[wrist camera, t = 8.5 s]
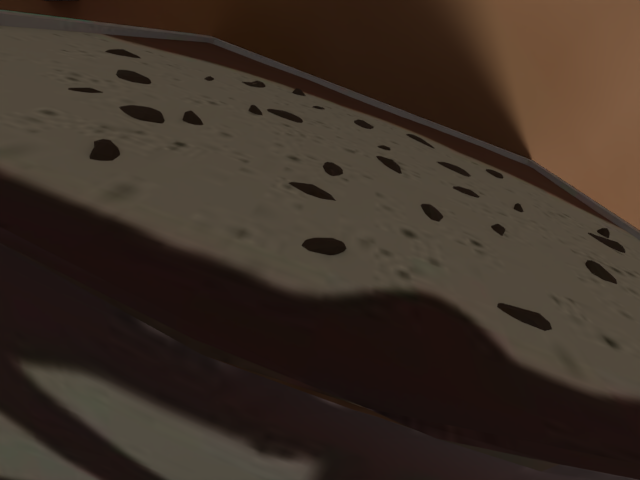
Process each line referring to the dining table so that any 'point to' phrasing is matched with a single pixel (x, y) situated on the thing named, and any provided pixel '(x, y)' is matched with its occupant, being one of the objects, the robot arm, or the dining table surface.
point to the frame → (59, 0)
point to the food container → (290, 279)
